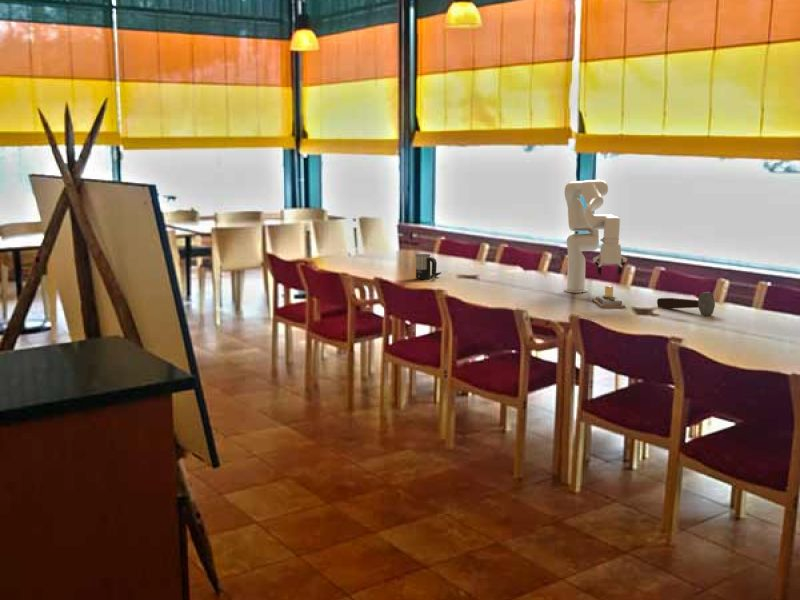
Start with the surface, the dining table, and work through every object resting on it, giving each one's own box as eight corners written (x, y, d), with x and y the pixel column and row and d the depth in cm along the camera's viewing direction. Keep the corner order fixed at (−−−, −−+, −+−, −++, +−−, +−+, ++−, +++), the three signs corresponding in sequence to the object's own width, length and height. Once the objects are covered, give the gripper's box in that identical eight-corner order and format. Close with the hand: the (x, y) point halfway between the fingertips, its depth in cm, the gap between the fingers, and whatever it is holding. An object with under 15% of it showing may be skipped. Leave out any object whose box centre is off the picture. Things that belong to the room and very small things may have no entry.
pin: (603, 303, 437) (604, 285, 436) (611, 303, 437) (612, 285, 436) (605, 304, 433) (606, 287, 432) (613, 304, 433) (614, 287, 432)
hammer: (656, 314, 427) (709, 316, 403) (655, 292, 426) (708, 292, 402) (662, 313, 430) (715, 315, 405) (661, 291, 429) (714, 291, 405)
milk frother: (413, 279, 513) (413, 255, 510) (420, 275, 527) (420, 251, 525) (436, 280, 508) (436, 256, 505) (443, 277, 523) (443, 252, 520)
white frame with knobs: (592, 300, 445) (592, 292, 444) (615, 300, 445) (615, 292, 444) (601, 307, 425) (601, 299, 425) (625, 307, 425) (625, 299, 425)
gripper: (595, 242, 426) (593, 276, 429) (630, 242, 426) (628, 276, 429) (592, 240, 433) (590, 273, 437) (626, 240, 433) (624, 273, 437)
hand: (609, 274), depth 433 cm, fingers open, 9 cm apart
